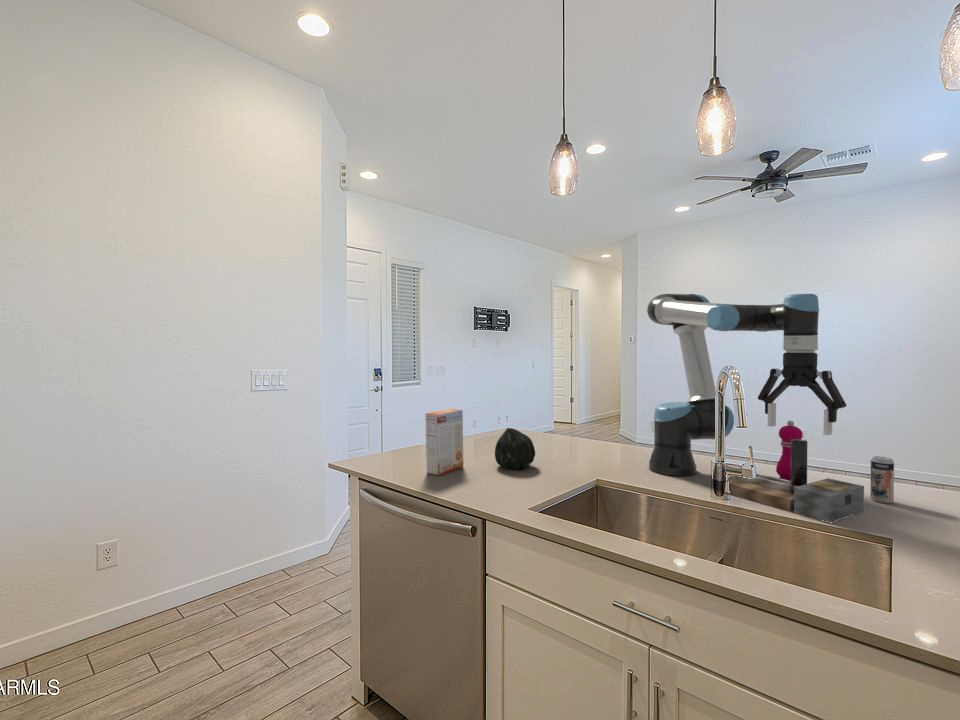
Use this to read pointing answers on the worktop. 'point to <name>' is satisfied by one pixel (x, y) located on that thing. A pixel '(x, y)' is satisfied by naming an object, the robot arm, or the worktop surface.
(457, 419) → the cracker box
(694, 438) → the robot arm
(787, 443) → the pepper mill
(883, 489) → the beer can
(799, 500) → the brown grey flat block
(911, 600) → the worktop surface
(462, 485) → the worktop surface
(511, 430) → the squash
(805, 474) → the black l-shaped bracket
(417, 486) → the worktop surface
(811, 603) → the worktop surface
